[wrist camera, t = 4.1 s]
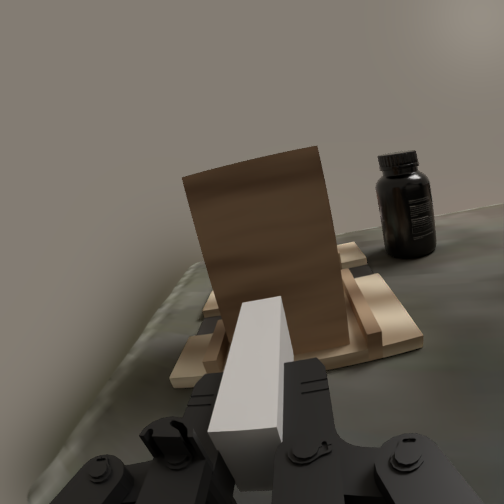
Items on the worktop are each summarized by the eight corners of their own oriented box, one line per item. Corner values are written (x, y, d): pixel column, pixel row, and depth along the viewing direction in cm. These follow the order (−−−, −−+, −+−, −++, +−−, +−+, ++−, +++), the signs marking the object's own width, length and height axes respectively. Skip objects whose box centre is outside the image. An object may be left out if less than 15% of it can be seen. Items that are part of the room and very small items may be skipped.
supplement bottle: (433, 238, 38) (422, 148, 34) (439, 257, 32) (428, 150, 29) (385, 243, 41) (371, 154, 38) (383, 262, 35) (367, 158, 32)
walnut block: (350, 344, 20) (317, 145, 17) (236, 363, 22) (181, 177, 18) (334, 295, 28) (306, 149, 25) (247, 312, 29) (210, 170, 26)
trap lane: (422, 347, 19) (423, 295, 18) (173, 388, 22) (154, 344, 21) (354, 248, 42) (350, 220, 41) (225, 274, 45) (218, 247, 44)
